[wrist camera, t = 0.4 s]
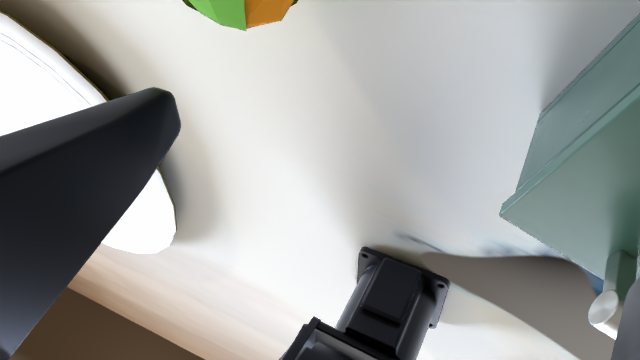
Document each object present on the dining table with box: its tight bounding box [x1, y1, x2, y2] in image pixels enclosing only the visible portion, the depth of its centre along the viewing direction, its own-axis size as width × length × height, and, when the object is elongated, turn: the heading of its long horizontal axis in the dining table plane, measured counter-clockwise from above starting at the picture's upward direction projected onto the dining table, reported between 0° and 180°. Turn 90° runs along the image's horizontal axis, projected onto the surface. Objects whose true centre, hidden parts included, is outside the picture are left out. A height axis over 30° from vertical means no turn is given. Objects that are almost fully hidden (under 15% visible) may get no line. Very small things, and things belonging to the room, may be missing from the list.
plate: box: [0, 10, 177, 253], centre depth 46 cm, size 29×29×2 cm
